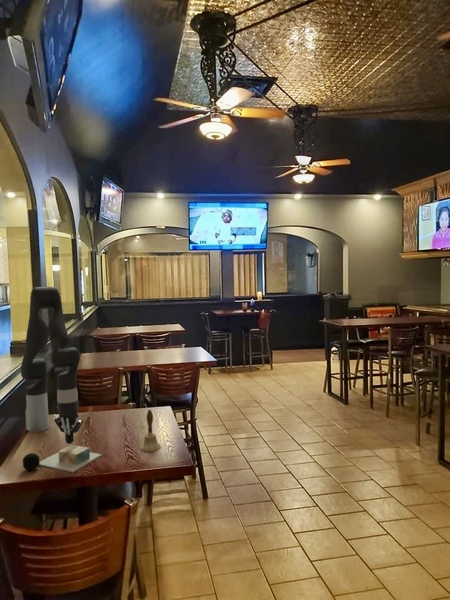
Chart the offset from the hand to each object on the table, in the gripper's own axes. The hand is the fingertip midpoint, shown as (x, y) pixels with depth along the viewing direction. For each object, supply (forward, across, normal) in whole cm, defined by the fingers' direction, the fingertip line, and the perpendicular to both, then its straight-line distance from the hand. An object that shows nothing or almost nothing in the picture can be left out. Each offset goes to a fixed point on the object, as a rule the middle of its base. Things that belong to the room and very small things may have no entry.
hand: (69, 443), depth 179 cm
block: (+4, -3, 0) cm, 5 cm away
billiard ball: (+7, -8, -12) cm, 16 cm away
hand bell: (+7, +22, +22) cm, 32 cm away
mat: (+7, 0, 0) cm, 7 cm away
